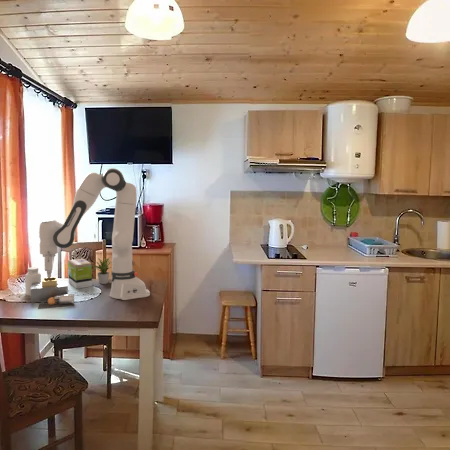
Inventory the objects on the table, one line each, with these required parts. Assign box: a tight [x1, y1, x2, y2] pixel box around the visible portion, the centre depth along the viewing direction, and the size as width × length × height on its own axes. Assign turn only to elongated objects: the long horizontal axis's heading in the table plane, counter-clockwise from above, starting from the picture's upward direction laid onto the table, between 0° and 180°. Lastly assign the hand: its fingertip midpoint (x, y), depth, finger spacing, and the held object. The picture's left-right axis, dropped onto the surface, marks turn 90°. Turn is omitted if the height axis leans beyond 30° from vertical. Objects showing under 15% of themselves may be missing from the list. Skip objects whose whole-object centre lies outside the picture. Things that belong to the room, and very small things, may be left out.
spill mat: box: [37, 301, 75, 310], centre depth 208 cm, size 17×9×1 cm, turn 111°
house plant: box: [92, 257, 112, 285], centre depth 252 cm, size 14×14×16 cm
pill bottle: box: [24, 266, 42, 297], centre depth 225 cm, size 8×8×15 cm
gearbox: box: [30, 276, 69, 304], centre depth 218 cm, size 18×12×11 cm, turn 111°
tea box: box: [67, 258, 93, 290], centre depth 246 cm, size 15×10×15 cm, turn 39°
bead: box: [47, 297, 57, 305], centre depth 208 cm, size 4×4×4 cm
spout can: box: [55, 293, 75, 305], centre depth 209 cm, size 9×5×5 cm, turn 111°
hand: (49, 275), depth 217 cm, fingers open, 8 cm apart
